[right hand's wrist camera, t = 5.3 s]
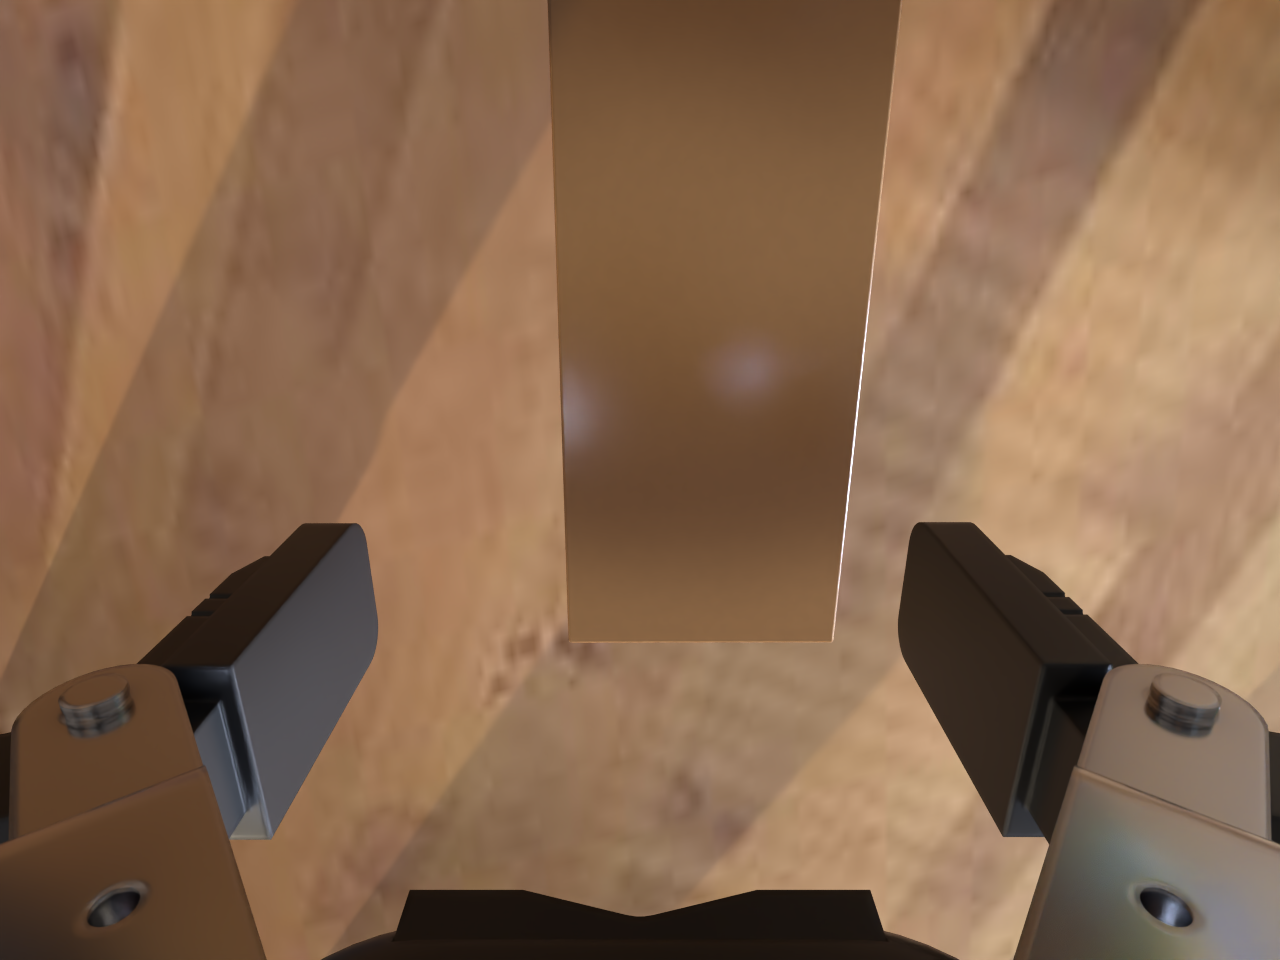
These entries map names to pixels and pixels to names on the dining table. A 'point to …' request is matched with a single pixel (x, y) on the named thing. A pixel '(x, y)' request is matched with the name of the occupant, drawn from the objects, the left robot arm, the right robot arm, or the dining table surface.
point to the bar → (713, 305)
